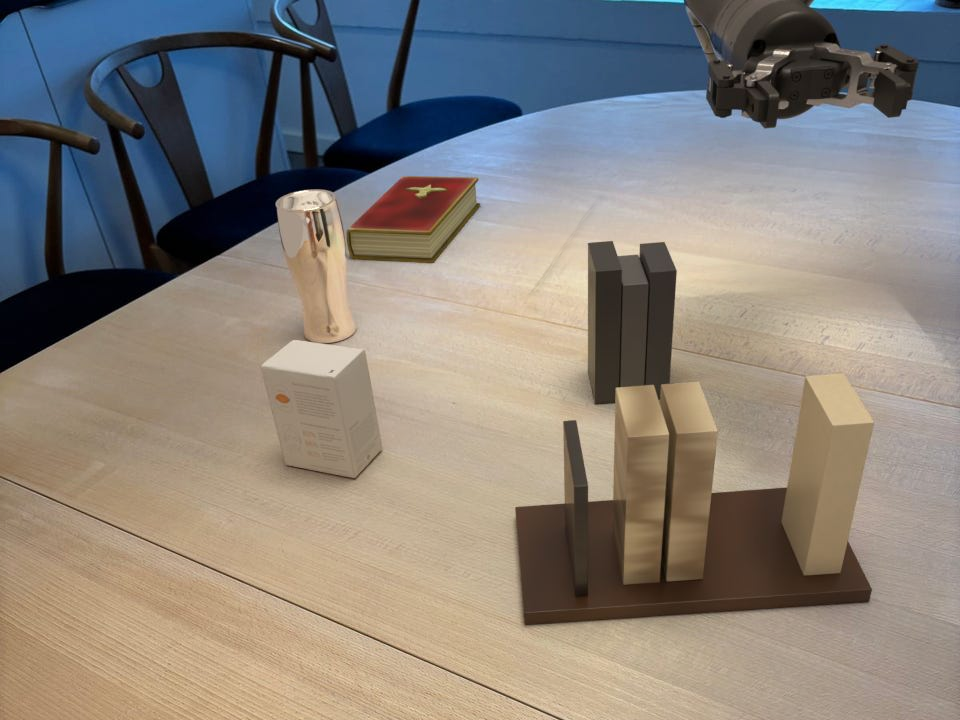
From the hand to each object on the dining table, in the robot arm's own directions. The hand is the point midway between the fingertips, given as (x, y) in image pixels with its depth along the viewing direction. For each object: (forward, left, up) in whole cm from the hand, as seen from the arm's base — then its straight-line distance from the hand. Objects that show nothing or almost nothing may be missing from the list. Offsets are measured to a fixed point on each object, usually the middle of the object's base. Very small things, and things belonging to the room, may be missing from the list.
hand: (836, 106), depth 67 cm
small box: (+41, -8, -30) cm, 51 cm away
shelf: (+11, +11, -30) cm, 33 cm away
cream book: (+1, +12, -28) cm, 31 cm away
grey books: (+11, -18, -30) cm, 36 cm away
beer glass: (+44, -36, -30) cm, 64 cm away
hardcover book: (+34, -66, -30) cm, 80 cm away
